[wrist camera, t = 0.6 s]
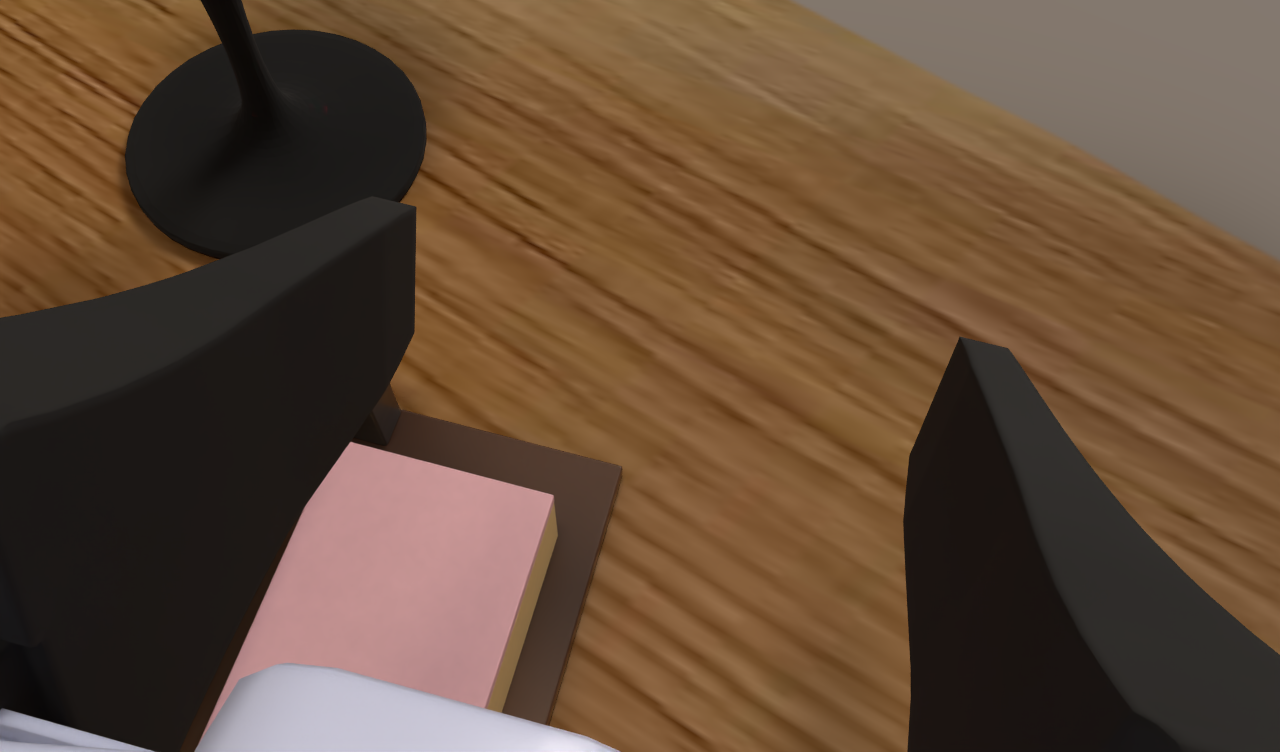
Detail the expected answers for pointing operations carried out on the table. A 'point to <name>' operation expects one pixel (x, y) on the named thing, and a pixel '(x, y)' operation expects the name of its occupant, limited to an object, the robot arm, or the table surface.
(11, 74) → the table surface
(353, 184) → the wine glass
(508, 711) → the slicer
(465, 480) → the pink sponge pad
